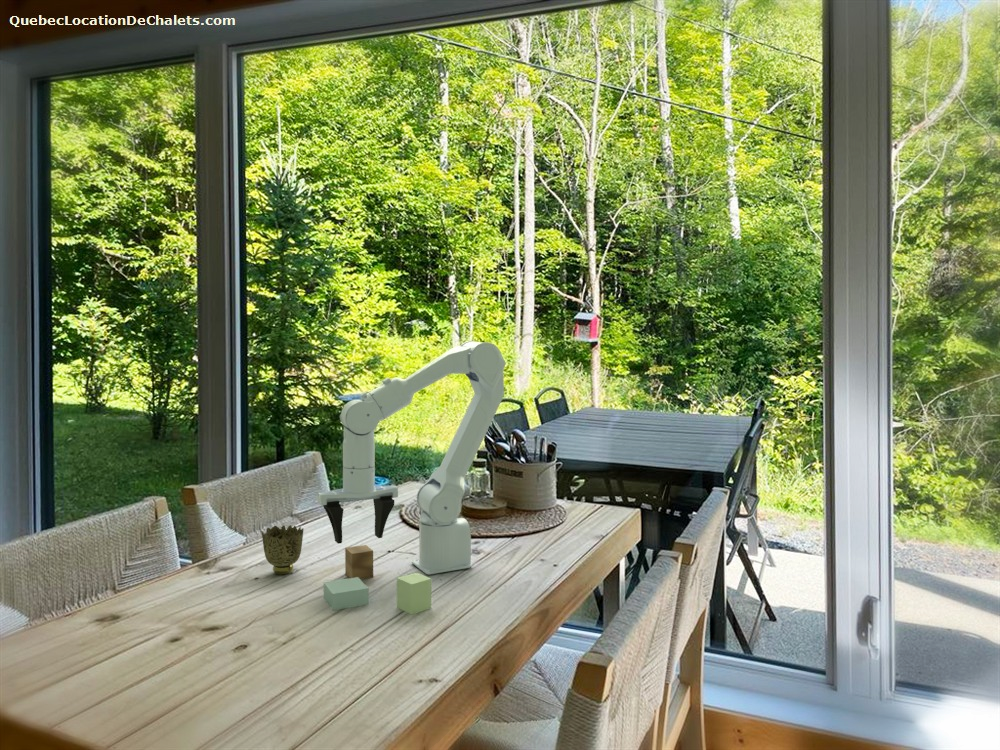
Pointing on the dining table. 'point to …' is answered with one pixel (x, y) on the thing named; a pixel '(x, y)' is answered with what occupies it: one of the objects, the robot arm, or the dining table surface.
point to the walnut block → (359, 562)
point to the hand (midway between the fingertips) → (358, 539)
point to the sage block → (414, 593)
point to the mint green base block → (346, 593)
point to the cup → (282, 547)
